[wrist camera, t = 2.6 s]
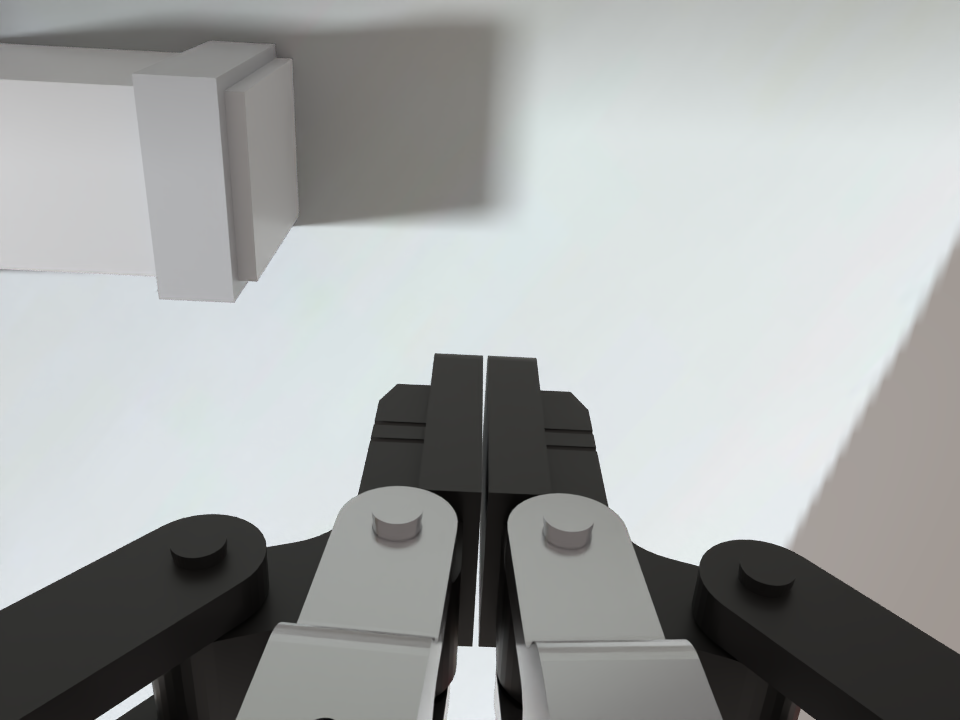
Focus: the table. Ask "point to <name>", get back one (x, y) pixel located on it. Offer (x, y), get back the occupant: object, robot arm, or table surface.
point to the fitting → (148, 163)
